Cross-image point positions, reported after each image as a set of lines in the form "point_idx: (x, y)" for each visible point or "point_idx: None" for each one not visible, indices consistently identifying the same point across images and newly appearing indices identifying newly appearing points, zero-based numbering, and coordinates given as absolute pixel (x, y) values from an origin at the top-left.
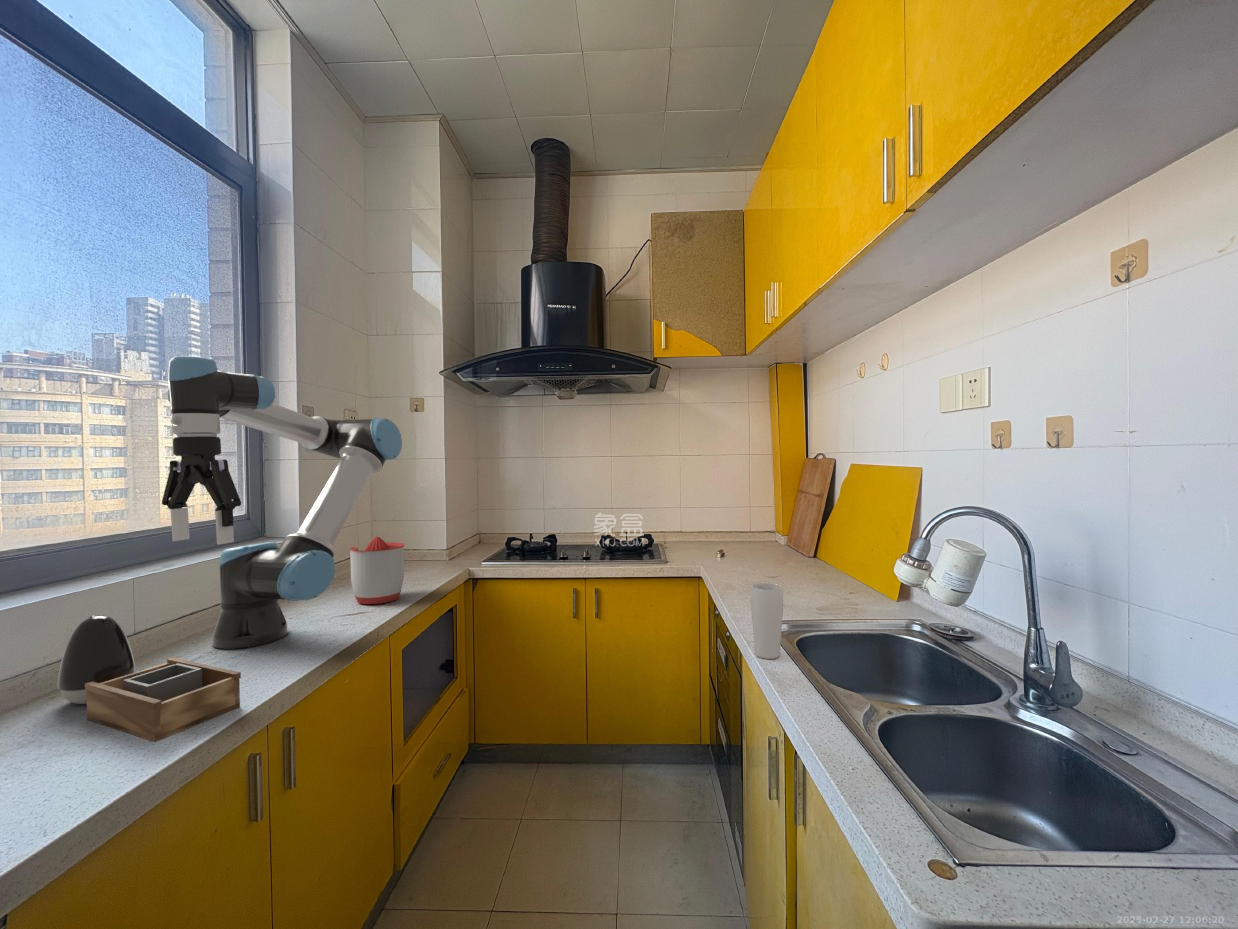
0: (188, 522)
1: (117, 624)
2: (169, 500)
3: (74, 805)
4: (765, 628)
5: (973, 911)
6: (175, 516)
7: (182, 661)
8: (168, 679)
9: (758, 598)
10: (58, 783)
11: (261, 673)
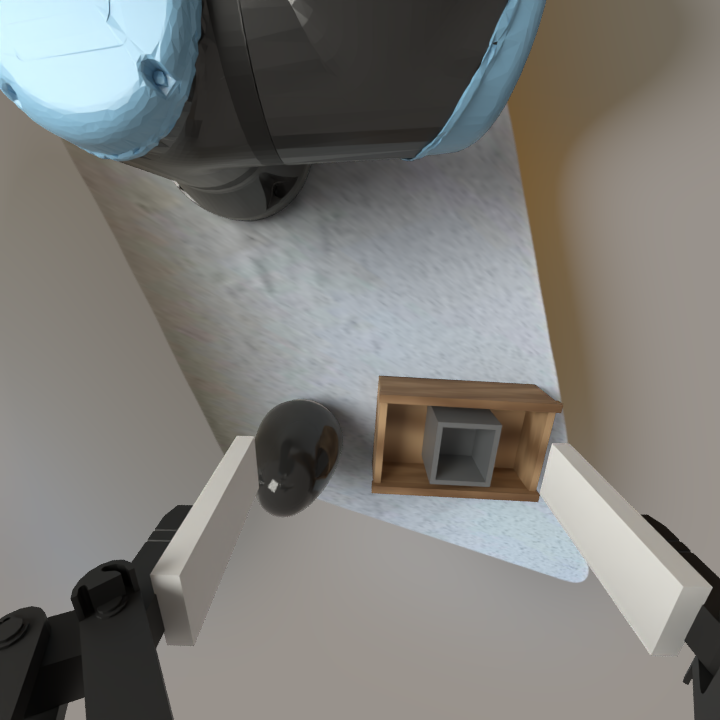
0: (223, 491)
1: (301, 470)
2: (53, 704)
3: (555, 546)
4: None
5: None
6: (212, 584)
7: (417, 401)
8: (493, 464)
9: None
10: (502, 534)
11: (455, 287)
